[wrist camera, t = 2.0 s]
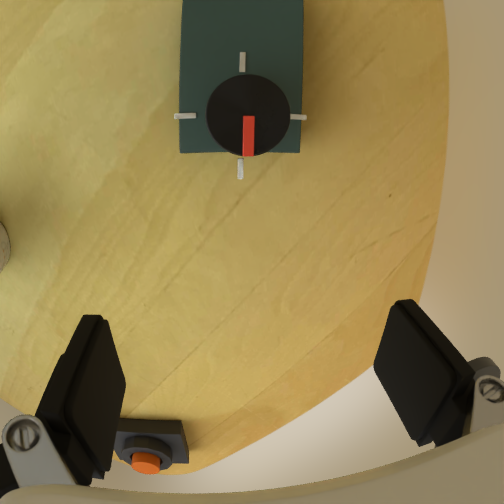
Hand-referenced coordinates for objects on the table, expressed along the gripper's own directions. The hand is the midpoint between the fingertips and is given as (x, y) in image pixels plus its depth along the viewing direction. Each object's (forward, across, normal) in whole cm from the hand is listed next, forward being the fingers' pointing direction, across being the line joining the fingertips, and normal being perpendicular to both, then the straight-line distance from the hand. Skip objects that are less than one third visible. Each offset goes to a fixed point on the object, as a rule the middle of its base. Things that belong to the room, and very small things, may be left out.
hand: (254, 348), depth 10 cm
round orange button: (+13, +11, +31) cm, 35 cm away
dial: (+14, -1, -7) cm, 15 cm away
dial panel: (+17, -1, -10) cm, 20 cm away
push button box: (+17, +11, +31) cm, 37 cm away
